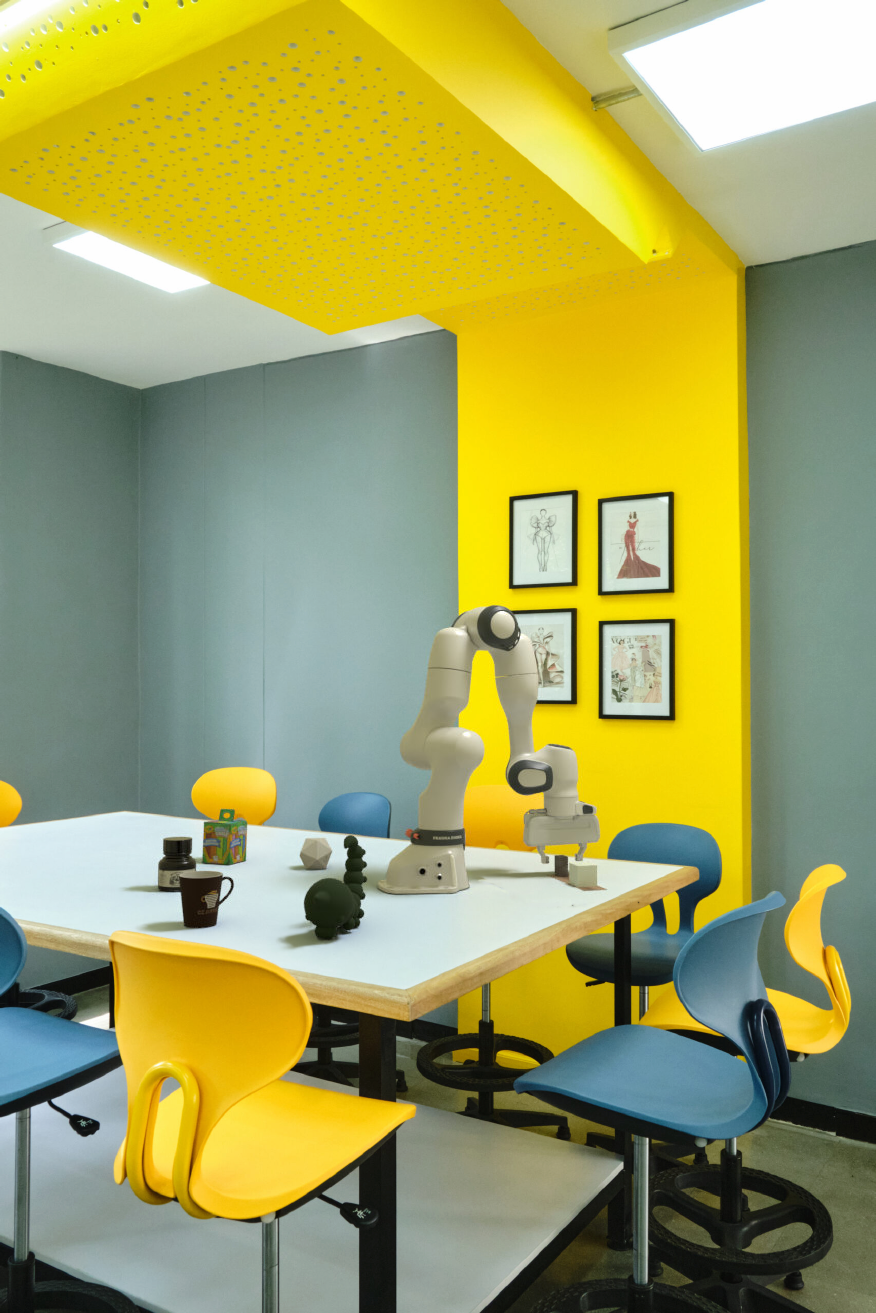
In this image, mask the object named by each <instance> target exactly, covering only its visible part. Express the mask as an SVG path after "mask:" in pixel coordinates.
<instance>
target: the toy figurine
mask: <svg viewBox="0 0 876 1313" xmlns="http://www.w3.org/2000/svg"><path fill="white" fill-rule="evenodd" d="M343 849H345V850H347V851H346V856H347V858H346V860H345V862H344V866H345V872H344V874H343V877H342V881H341V880H339V879H337V878H335V877H334V878H332V877H326V878H322V879H319V880H317V881H316V882H314V883H313V884H311V886H310V887H309V889H308V890H307V892H306V893H305V896H304V900H303V908H304V914H305V915H304V918H305V920H306V921H309V922H310V923H311V924H313V925H314V926H315V927H314V935H315V936H316V937H317V938H319V939H321V940H333V939H334V938H335V937H336V935H337V933H338V929H337V928H340V927H342V929H344V930H345V931H346V932H349V931H352V930H353V929H354V928H356V929H357V928H358V927H360V926H361V919H362V918H364V916H365V910H364V909H363V908H362V901H363V900H365V898H366V895H367V894H366V893H365V892H364V888H363V886H362V885H363V884H366V882H368V877H367V876H366V875H364V873H363V872H362V871H363V870H364V869H366V868H367V866H368V864H367V862H366V861H365V860H364V859H363V858H364V856H365V855H366V854H367V850H365V849H364V848H363V847H362V846H361V845H359V840H358V839H357V837H356V836H354V835H351V834H350V835H346V837H345V838H344V839H343Z"/></svg>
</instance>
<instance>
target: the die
mask: <svg viewBox="0 0 876 1313" xmlns="http://www.w3.org/2000/svg"><path fill="white" fill-rule="evenodd" d="M332 854H333V849H332V847H331V846H330V844H329V842H328V840H327V839H326V837H310V838H309V837H307V838H305V839H304V841H303V845H302V848H301V850H300V853H299V858H300V860H301V861H302V864H303V866H304V868H305V870H326V869H327V866H328V864H329V861H330V858H331V855H332Z"/></svg>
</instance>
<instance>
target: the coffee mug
mask: <svg viewBox="0 0 876 1313" xmlns="http://www.w3.org/2000/svg"><path fill="white" fill-rule="evenodd" d="M223 875H224V873H223V872H221V871H216V870H196V871H193V872H186V873H182V874H180V875H179V880H180V891H179V892H180V899H181V908H182V910H181V911H182V918H183V919H182V920H183V926H184V927H185V928H186V929H205V928H207V929H208V928H211V927H215V926H217V923H218V918H219V917H218V915H219V908H220V906H221V905H222V904H223V903H224V901H226V900H227V899H228V898H229V896H230V895H231V893H233V892H232V891H233V889H234V887H235V882H234V880H233V878H232V877H229V876H223ZM225 880H228V881H229V882H230V888H229V890H228V892H227V893H226V894H225V895H224V897H223V898H221V891H222V884H223V881H225Z"/></svg>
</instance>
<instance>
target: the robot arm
mask: <svg viewBox="0 0 876 1313" xmlns="http://www.w3.org/2000/svg"><path fill="white" fill-rule="evenodd" d="M521 631H522V630H521V628H520V626H519V622H518V619H517V617H516V616H515V614H514V613H513V612H512V610H511V609H510V608H508V607H506V606H503V605H500V604H499V605H495V604H494V605H493V604H492V605H489V606H479V607H475V608H473V609H471V610H468V611H464V612H462V613H461V614H459V615H458V616H457V617H456V618H455V619H454V621H453V623H452V625H451V626H450V627H446V628H441V629H440V630H438V631H437V633H436V634H435V636H434V638H433V641H432V646H431V649H430V653H429V658H428V664H427V674H426V678H425V679H426V681H425V688H424V696H423V700H422V703H421V706H420V709H419V712H418V714H417V717H416V718H415V720H414V722H413V724H412V726H411V727H410V728H409V729H408V730H407V731H406V732H405V733H404V734H403V736H402V738H401V741H400V743H399V754H400V756H401V758H402V760H403V761H404V763H406V764H407V765H408V766H411V767H413V768H416V769H418V770H422V771H431V775H430V779H429V781H428V784H427V786H426V787H425V789H424V790H422V792H420V794H419V796H418V822H417V823H418V827H417V828H415V829H411V828H407V829H406V830H405V832H404V835H405V836H406V837H407V838H409V839H410V840H409V841H410V844H409V845H407V846H406V847H405V848H404V849H403V850H401V851H400V852H398V854H396V855H395V856H394V857H392V859H390V861H389V863H388V867H387V870H386V877H385V878H386V879H381V880H378V881H377V888H378V890H380V891H382V892H385V893H389V894H395V895H396V894H397V895H398V894H399V895H400V894H401V895H402V894H405V895H406V894H452V893H453V894H454V893H457V892H459V891H461V890H466V889H467V888H469V887H470V886H471V885H470V882H469V877H468V873H467V867H466V858H465V851H466V850H465V849H466V829H465V827H464V808H465V807H464V806H465V803H464V802H465V796H466V795H465V794H466V790H467V787H468V784H469V780H470V779H471V776H472V775H473V773H474V772H475V770H476V769H477V768H479V766H480V765H481V764H482V762H483V759H484V756H485V744H484V741H483V739H482V737H481V736H480V735H479V734H478V733H477V732H475V731H473V730H470V729H467V728H465V727H461V726H454V725H455V723H456V720H457V718H458V717H459V715H460V714H461V712H462V711H465V709H466V708H467V706H468V704H469V701H470V693H471V692H470V691H471V683H472V673H473V661H474V658H475V655H476V653H477V652H478V651H487V652H488V654H490V656H491V658H492V660H493V664H494V666H493V667H494V677H495V678H494V680H495V687H496V691H497V696H498V699H499V702H500V705H501V708H502V710H503V713H504V715H505V718H506V722H507V726H508V738H509V748H510V749H509V750H510V752H509V753H510V754H509V758H508V762H507V764H506V768H505V772H504V773H505V780H506V782H507V785H508V786H509V787H510V788H511V789H512V790H513V792H515V793H516V794H518V795H521V796H526V797H527V796H532V795H536V794H540V793H543V808H537V809H536V808H535V809H534V808H533V809H532V808H530V809H528V811H525V813H524V814H523V825H524V826H523V838H522V839H523V840H522V841H523V843H524V844H525V846H527V847H532V848H533V847H536V850H537V853H538V854H539V856H540V859H541V861H540V862H541V864H543V865H546V864H548V865H549V864H550V856H548V855H546V853H545V852H544V851H546V846H547V847H548V846H562V845H577V844H578V847H579V849H578V851H577V853H574V860H575V862H584V861H583V860H584V854H585V853H586V850H587V848H588V844H591V843H598V842H599V840H600V838H601V828H600V821H599V818H598V816H597V815H596V814H597V812H598V811H597V809H598V808H597V806H595V805H593V804H589V803H586V802H585V801H581V800H579V792H578V787H577V786H578V780H579V770H578V759H577V755H576V752H575V751H574V749H573V748H571V747H570V746H566V745H561V744H557V743H547V744H546V745H545V746H543V747H542V748H541V749H539V750H537V751H536V752H535V747H534V736H533V723H532V722H533V713H534V711H535V707H536V704H537V702H538V696H539V671H538V666H537V660H536V654H535V651H534V647H533V643H532V640H531V638H530V637H529V636H528V635H526V634H525V633H522V632H521Z"/></svg>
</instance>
